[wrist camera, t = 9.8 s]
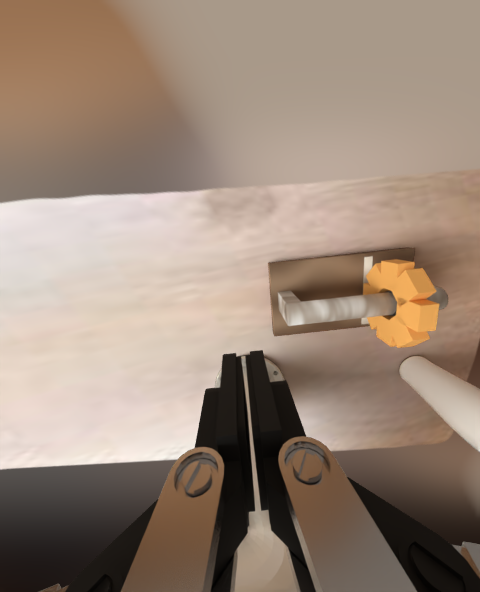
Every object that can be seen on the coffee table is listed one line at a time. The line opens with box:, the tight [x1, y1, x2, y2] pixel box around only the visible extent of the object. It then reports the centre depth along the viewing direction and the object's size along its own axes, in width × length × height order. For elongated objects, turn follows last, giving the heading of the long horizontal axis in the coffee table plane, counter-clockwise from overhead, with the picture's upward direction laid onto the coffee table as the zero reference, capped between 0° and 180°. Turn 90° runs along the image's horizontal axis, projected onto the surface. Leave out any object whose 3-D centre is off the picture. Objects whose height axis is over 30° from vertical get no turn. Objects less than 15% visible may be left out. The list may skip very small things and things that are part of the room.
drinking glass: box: [399, 356, 480, 452], centre depth 34 cm, size 7×7×15 cm
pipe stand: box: [268, 248, 448, 336], centre depth 32 cm, size 12×22×9 cm, turn 96°
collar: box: [363, 259, 439, 348], centre depth 30 cm, size 11×2×11 cm, turn 6°
